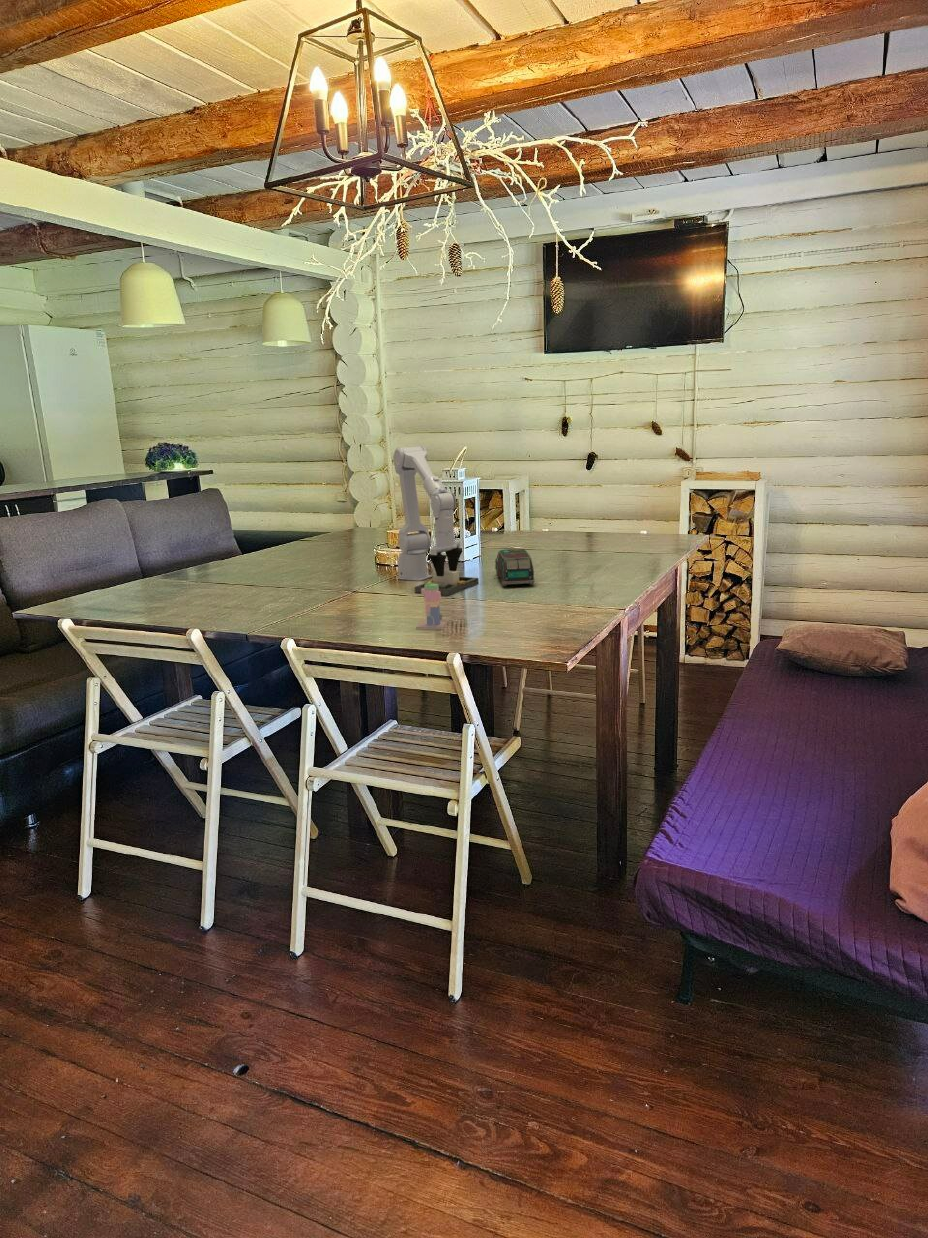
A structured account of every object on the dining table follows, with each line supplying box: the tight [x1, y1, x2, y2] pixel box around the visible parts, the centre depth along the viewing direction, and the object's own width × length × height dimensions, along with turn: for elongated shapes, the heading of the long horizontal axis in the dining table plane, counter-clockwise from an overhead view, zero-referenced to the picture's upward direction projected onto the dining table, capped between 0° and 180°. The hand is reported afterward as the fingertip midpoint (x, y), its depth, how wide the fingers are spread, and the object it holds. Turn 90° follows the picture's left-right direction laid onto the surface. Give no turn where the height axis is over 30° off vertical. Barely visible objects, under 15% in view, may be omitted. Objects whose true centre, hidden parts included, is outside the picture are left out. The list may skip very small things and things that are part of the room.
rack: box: [414, 576, 480, 597], centre depth 269 cm, size 12×19×3 cm, turn 149°
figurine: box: [415, 580, 448, 631], centre depth 222 cm, size 7×6×12 cm
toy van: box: [494, 548, 535, 588], centre depth 277 cm, size 11×25×10 cm, turn 3°
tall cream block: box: [432, 569, 460, 585], centre depth 269 cm, size 8×3×5 cm, turn 59°
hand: (446, 573), depth 269 cm, fingers open, 7 cm apart
